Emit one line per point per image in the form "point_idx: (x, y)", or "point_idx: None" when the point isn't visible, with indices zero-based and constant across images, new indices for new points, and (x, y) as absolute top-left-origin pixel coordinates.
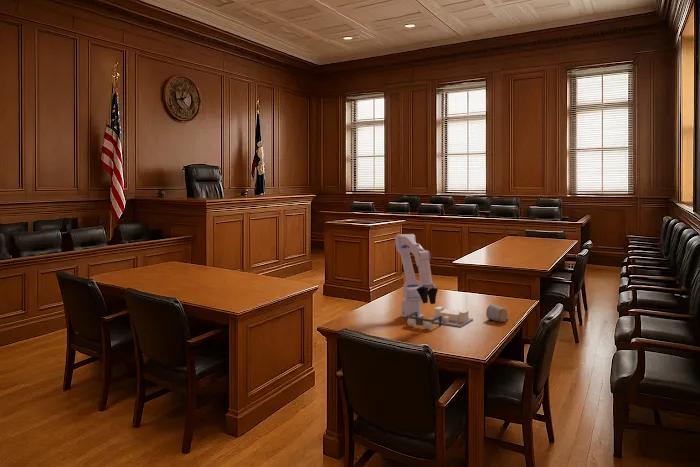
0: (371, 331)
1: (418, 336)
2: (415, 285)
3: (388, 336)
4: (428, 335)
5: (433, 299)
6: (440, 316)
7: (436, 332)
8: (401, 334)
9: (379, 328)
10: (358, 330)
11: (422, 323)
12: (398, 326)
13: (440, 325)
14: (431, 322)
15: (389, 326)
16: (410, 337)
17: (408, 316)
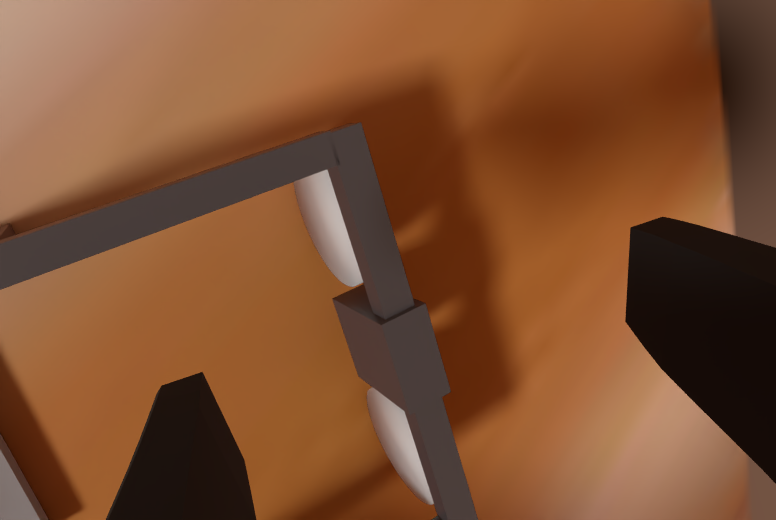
0: (711, 440)
1: (563, 64)
2: None
3: None
4: (471, 8)
5: (211, 501)
6: (6, 241)
7: (316, 21)
8: (622, 228)
9: (631, 491)
10: (746, 507)
11: (358, 296)
12: (483, 478)
13: (11, 227)
14: (11, 455)
15: (542, 515)
16: (628, 97)
17: (470, 501)
